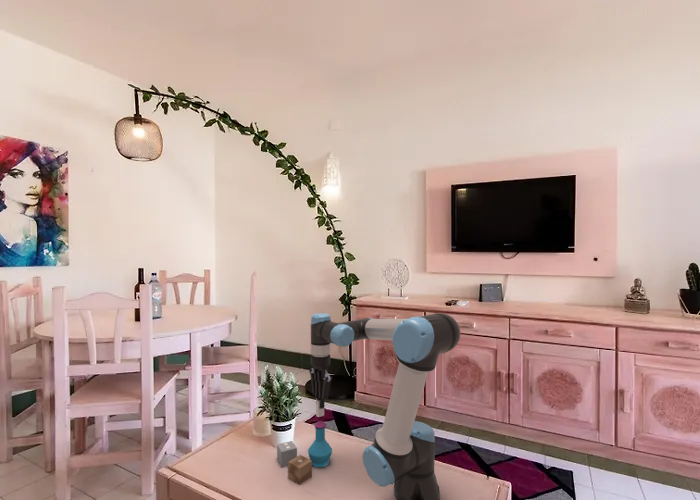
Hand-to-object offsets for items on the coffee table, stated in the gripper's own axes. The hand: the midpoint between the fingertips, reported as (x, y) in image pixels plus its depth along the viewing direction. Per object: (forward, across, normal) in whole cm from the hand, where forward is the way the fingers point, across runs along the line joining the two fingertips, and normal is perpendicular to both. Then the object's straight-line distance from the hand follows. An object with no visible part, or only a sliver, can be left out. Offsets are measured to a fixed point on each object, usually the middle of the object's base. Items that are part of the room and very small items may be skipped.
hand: (320, 415), depth 145 cm
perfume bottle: (+18, 0, 0) cm, 18 cm away
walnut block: (+18, -4, +11) cm, 22 cm away
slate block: (+18, +8, +10) cm, 22 cm away
